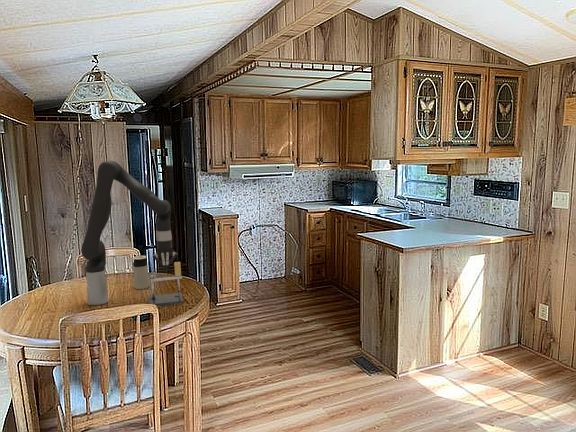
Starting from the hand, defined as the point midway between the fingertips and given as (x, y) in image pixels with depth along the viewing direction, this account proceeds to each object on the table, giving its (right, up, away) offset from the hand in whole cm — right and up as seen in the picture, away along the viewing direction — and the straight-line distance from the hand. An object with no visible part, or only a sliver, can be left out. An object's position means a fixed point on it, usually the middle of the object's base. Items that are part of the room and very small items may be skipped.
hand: (166, 271), depth 231 cm
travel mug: (-21, -13, +27) cm, 37 cm away
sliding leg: (+6, -13, +3) cm, 15 cm away
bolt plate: (-1, -16, +2) cm, 16 cm away
